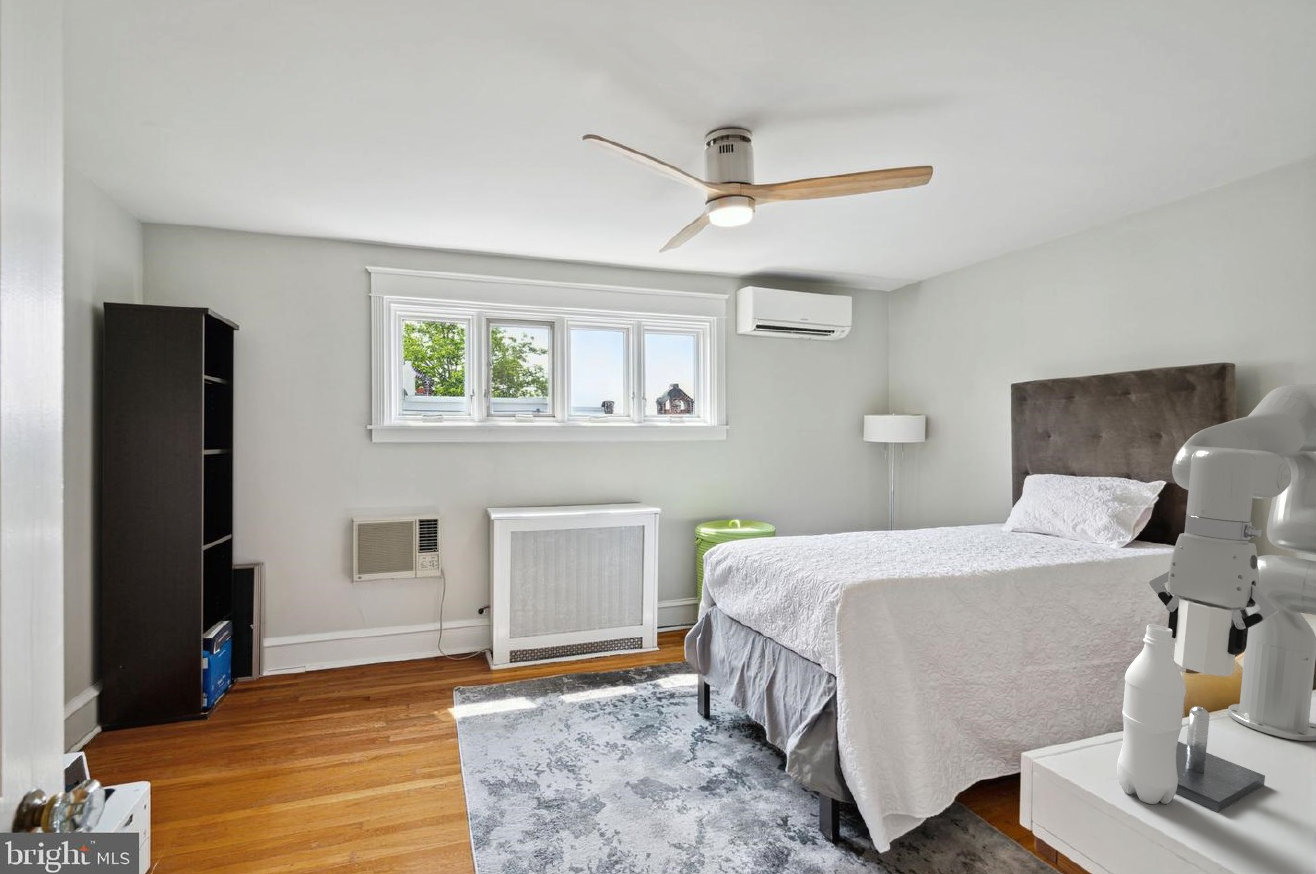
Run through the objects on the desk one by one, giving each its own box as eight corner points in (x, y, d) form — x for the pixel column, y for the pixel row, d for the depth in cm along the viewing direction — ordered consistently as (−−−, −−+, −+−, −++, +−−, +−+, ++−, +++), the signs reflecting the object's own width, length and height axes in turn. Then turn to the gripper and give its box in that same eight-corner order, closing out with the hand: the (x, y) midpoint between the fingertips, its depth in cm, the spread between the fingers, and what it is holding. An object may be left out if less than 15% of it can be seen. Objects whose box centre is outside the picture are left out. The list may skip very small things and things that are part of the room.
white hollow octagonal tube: (1187, 657, 107) (1193, 595, 106) (1239, 672, 101) (1245, 607, 101) (1167, 662, 103) (1173, 599, 103) (1219, 678, 98) (1226, 611, 97)
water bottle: (1186, 813, 93) (1202, 639, 92) (1129, 805, 95) (1144, 633, 94) (1159, 785, 100) (1173, 623, 99) (1106, 777, 102) (1120, 617, 101)
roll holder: (1172, 748, 112) (1178, 683, 112) (1264, 785, 102) (1271, 714, 102) (1124, 770, 104) (1130, 700, 104) (1218, 812, 94) (1225, 735, 94)
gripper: (1301, 540, 96) (1288, 662, 96) (1162, 519, 111) (1152, 624, 111) (1281, 542, 92) (1268, 669, 93) (1140, 520, 107) (1129, 629, 108)
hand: (1205, 643), depth 102 cm, fingers closed on white hollow octagonal tube, 6 cm apart
